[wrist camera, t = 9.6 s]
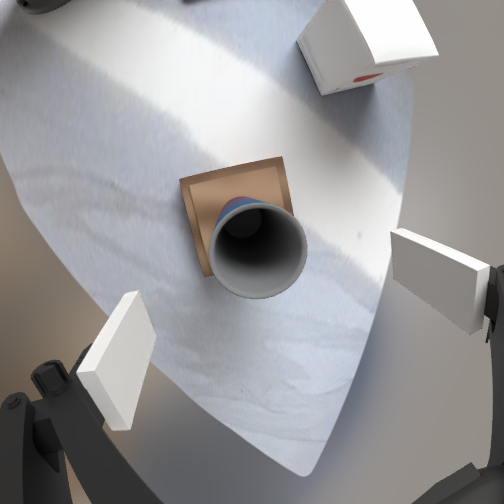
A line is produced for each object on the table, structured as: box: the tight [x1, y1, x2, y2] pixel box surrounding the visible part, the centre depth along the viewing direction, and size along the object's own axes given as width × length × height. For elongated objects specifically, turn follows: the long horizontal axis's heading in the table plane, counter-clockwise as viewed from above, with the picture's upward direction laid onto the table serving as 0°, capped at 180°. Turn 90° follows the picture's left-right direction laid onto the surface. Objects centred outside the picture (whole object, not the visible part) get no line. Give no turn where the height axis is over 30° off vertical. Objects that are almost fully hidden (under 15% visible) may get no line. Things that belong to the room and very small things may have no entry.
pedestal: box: [179, 156, 294, 277], centre depth 37 cm, size 12×12×3 cm
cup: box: [208, 196, 307, 299], centre depth 28 cm, size 7×7×15 cm
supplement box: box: [296, 0, 439, 96], centre depth 27 cm, size 9×9×15 cm
